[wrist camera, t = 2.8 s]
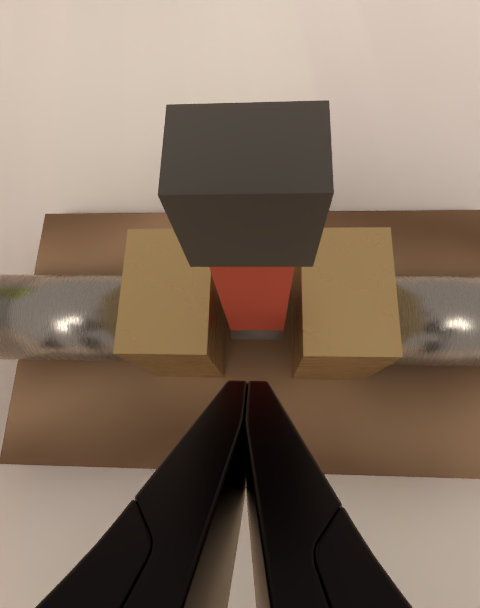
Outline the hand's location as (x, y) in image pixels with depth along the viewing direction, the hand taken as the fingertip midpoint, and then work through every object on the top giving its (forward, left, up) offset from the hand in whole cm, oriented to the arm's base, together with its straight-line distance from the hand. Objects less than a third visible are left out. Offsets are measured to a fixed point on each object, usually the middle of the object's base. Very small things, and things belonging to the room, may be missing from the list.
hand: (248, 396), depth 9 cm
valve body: (+3, +3, -9) cm, 10 cm away
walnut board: (+3, +3, -11) cm, 12 cm away
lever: (+3, +3, -7) cm, 8 cm away
